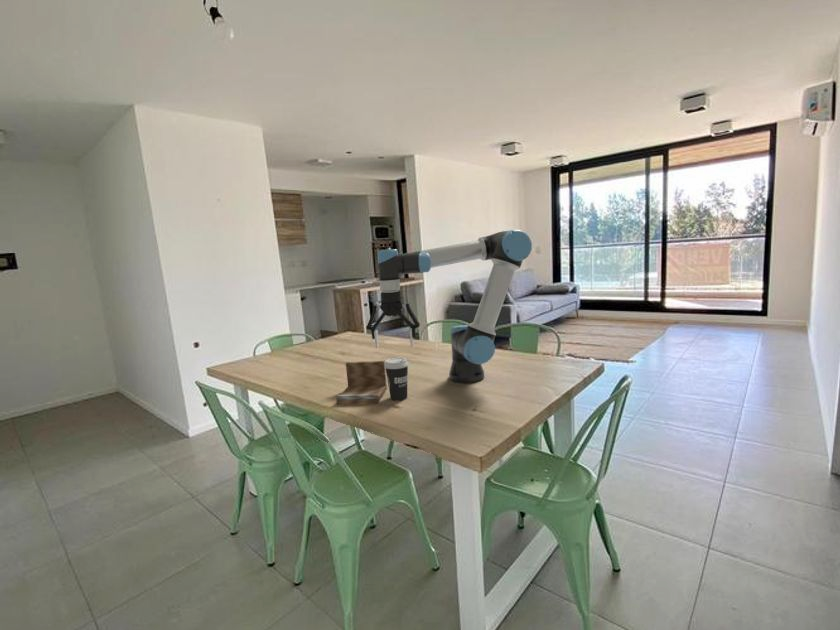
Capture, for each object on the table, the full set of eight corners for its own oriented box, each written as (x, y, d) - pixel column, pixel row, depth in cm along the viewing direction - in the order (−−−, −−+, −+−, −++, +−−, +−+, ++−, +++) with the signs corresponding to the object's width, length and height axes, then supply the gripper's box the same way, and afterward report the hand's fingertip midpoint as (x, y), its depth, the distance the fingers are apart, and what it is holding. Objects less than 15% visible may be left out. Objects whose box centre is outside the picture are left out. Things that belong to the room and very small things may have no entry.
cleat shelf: (386, 388, 176) (384, 360, 174) (378, 403, 160) (375, 372, 158) (349, 389, 178) (346, 362, 176) (337, 404, 162) (334, 374, 160)
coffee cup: (389, 403, 159) (386, 364, 156) (384, 395, 168) (381, 359, 166) (413, 399, 161) (411, 361, 159) (407, 392, 170) (405, 355, 168)
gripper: (424, 288, 160) (428, 343, 163) (360, 291, 163) (365, 345, 167) (422, 290, 153) (426, 347, 156) (355, 294, 156) (360, 350, 159)
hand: (394, 346), depth 161 cm, fingers open, 13 cm apart
